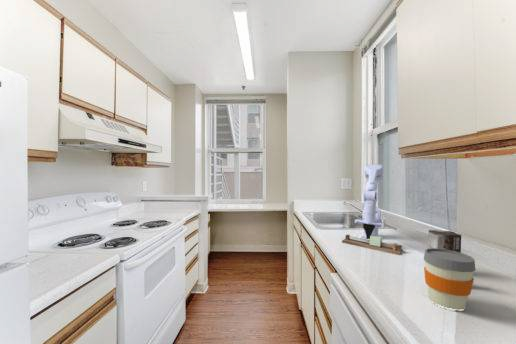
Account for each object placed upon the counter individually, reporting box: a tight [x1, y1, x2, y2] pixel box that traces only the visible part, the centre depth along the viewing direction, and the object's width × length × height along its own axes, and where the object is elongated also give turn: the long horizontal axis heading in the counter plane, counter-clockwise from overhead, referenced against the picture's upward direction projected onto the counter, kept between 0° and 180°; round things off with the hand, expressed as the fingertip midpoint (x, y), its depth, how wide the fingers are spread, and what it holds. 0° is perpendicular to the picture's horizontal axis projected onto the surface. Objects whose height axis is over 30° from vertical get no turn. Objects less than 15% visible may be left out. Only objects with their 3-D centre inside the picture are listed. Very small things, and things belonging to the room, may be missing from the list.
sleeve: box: [369, 235, 383, 247], centre depth 130 cm, size 4×5×4 cm
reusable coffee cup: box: [423, 248, 476, 310], centre depth 76 cm, size 13×13×15 cm
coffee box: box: [427, 229, 462, 253], centre depth 100 cm, size 9×6×16 cm
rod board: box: [341, 234, 404, 256], centre depth 131 cm, size 9×28×4 cm, turn 51°
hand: (368, 238), depth 132 cm, fingers closed
